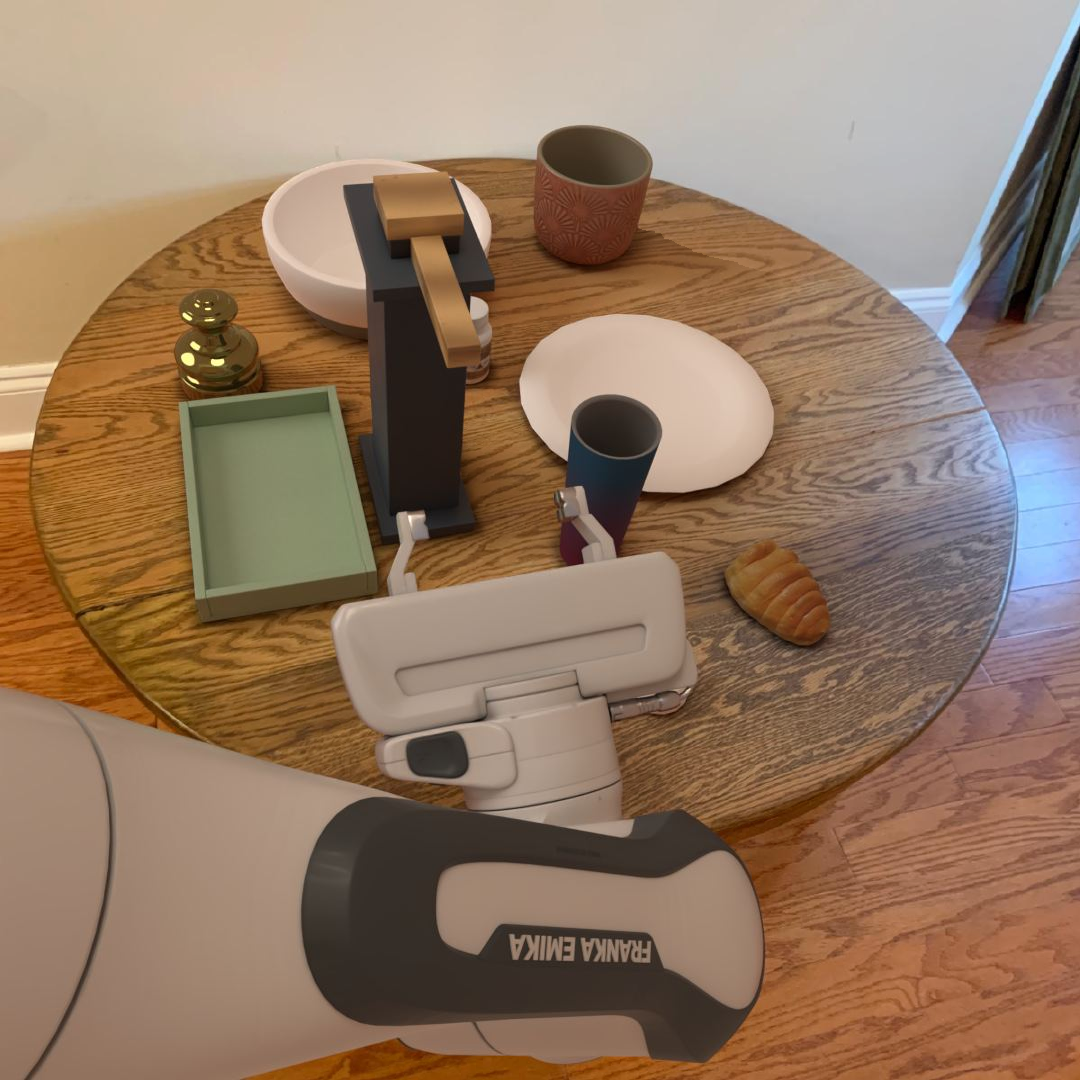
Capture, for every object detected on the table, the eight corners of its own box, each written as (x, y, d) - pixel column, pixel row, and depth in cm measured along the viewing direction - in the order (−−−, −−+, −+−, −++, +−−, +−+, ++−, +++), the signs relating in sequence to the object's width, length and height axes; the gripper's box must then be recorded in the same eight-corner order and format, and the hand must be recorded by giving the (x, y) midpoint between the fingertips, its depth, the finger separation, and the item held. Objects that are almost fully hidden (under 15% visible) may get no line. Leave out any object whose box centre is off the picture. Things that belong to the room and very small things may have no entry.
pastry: (844, 627, 81) (860, 601, 78) (786, 664, 78) (801, 638, 75) (768, 550, 86) (780, 523, 83) (710, 582, 83) (721, 555, 80)
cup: (640, 571, 83) (678, 448, 71) (567, 591, 81) (593, 467, 69) (607, 512, 86) (638, 386, 75) (536, 530, 84) (557, 403, 73)
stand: (382, 545, 82) (372, 289, 61) (358, 443, 88) (342, 184, 68) (475, 531, 84) (495, 279, 63) (444, 432, 90) (454, 177, 70)
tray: (202, 623, 75) (195, 599, 73) (184, 427, 88) (178, 401, 85) (378, 593, 78) (377, 570, 76) (337, 409, 91) (335, 384, 89)
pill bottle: (462, 391, 94) (465, 328, 88) (435, 366, 96) (437, 302, 90) (498, 375, 96) (503, 312, 90) (471, 350, 98) (475, 287, 92)
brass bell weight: (242, 347, 95) (227, 261, 87) (277, 393, 91) (265, 307, 84) (169, 373, 92) (146, 285, 84) (203, 421, 88) (183, 334, 80)
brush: (504, 362, 58) (508, 322, 56) (422, 371, 57) (422, 331, 55) (446, 210, 68) (447, 170, 65) (374, 215, 66) (372, 175, 64)
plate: (743, 538, 86) (748, 525, 85) (479, 452, 89) (480, 439, 88) (789, 366, 102) (794, 354, 100) (563, 299, 105) (565, 286, 103)
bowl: (348, 203, 112) (344, 135, 105) (523, 271, 107) (530, 203, 101) (225, 307, 98) (212, 236, 92) (419, 389, 94) (419, 320, 87)
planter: (580, 290, 106) (594, 200, 98) (505, 234, 111) (513, 144, 103) (656, 251, 112) (677, 164, 104) (582, 200, 117) (596, 113, 109)
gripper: (725, 703, 54) (675, 463, 56) (357, 781, 49) (314, 515, 51) (683, 703, 60) (640, 486, 62) (352, 772, 55) (314, 535, 57)
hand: (490, 500), depth 56 cm, fingers open, 8 cm apart
